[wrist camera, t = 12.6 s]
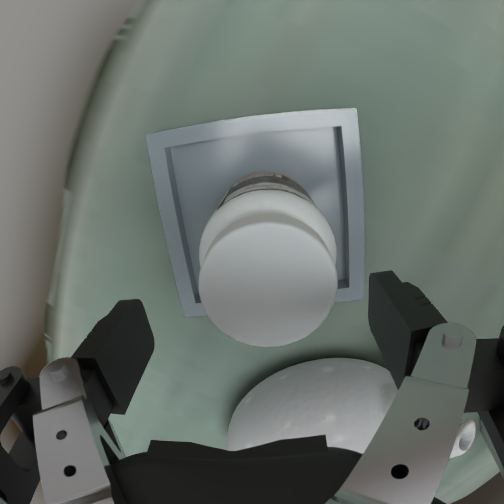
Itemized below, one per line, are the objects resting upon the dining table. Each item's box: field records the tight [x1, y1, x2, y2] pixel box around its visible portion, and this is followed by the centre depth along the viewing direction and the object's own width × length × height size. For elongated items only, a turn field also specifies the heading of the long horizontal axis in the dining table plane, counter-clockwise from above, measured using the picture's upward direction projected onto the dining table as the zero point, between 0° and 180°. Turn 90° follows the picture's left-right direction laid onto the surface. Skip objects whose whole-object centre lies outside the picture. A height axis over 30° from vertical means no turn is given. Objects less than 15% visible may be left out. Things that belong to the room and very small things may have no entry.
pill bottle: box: [199, 172, 338, 347], centre depth 15 cm, size 6×6×10 cm
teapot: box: [226, 358, 475, 458], centre depth 21 cm, size 19×18×14 cm
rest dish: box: [146, 108, 365, 317], centre depth 20 cm, size 12×12×2 cm
